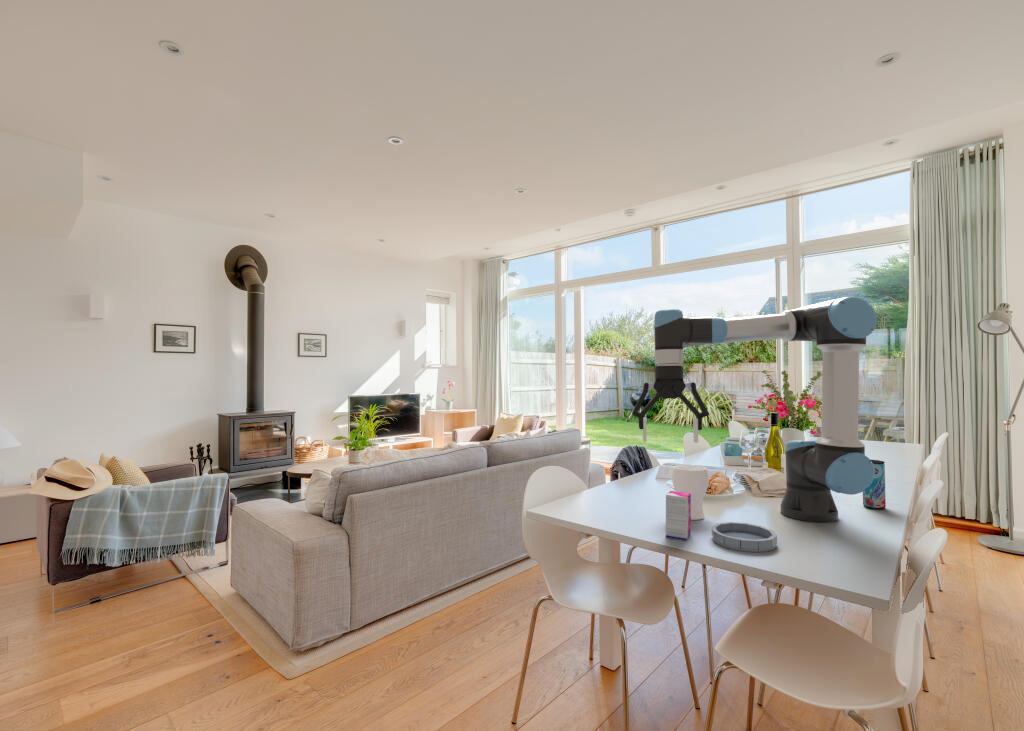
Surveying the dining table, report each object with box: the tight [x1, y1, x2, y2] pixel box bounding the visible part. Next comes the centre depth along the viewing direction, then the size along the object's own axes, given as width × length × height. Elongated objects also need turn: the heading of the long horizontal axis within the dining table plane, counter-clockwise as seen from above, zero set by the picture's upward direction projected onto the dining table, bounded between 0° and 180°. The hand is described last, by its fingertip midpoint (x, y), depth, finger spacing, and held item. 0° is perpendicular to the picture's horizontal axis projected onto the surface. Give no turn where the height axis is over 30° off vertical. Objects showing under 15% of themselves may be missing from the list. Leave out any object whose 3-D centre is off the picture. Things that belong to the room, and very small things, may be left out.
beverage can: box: [862, 459, 887, 511], centre depth 158 cm, size 6×6×15 cm
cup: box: [671, 464, 710, 521], centre depth 150 cm, size 11×11×15 cm
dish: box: [711, 521, 778, 553], centre depth 127 cm, size 15×15×3 cm
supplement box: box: [665, 490, 692, 541], centre depth 132 cm, size 6×6×12 cm
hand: (670, 441), depth 136 cm, fingers open, 13 cm apart
